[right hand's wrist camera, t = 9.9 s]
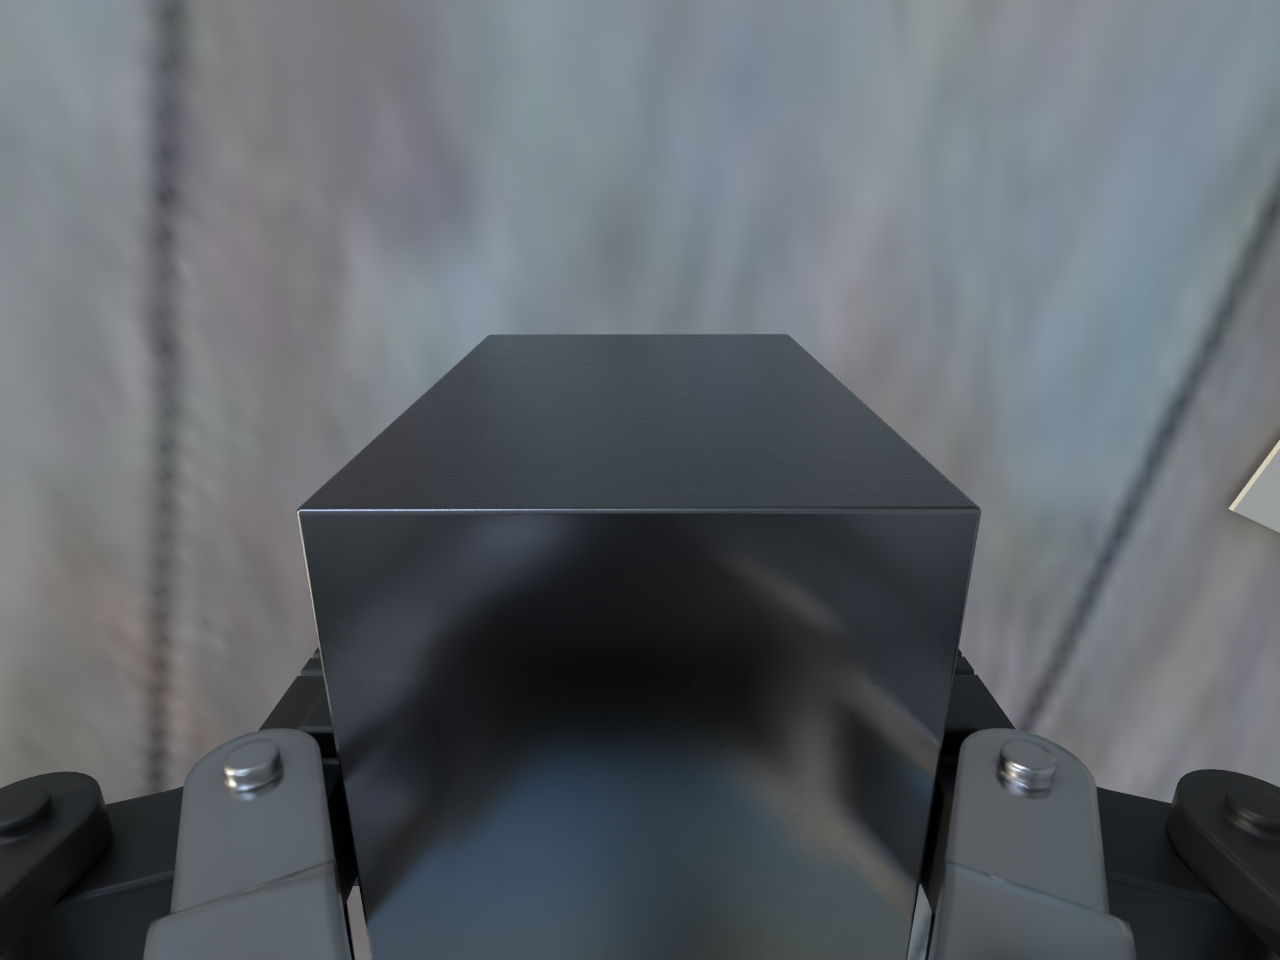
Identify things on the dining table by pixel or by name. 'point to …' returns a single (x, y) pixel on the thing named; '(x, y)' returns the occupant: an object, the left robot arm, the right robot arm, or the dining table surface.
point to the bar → (638, 655)
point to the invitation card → (1262, 493)
